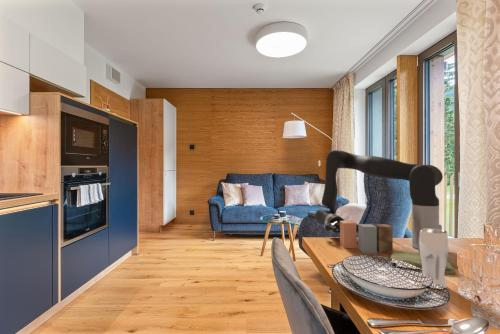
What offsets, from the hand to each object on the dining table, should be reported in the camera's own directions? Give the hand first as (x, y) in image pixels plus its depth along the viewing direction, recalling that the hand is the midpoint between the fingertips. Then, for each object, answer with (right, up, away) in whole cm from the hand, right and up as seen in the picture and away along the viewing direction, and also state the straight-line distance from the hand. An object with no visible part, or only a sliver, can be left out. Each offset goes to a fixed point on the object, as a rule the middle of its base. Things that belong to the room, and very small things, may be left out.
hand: (346, 230), depth 117 cm
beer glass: (+10, -6, -40) cm, 42 cm away
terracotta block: (0, -6, -2) cm, 6 cm away
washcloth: (+16, -7, -24) cm, 30 cm away
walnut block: (+11, -6, -9) cm, 16 cm away
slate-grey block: (+5, -6, -9) cm, 12 cm away
